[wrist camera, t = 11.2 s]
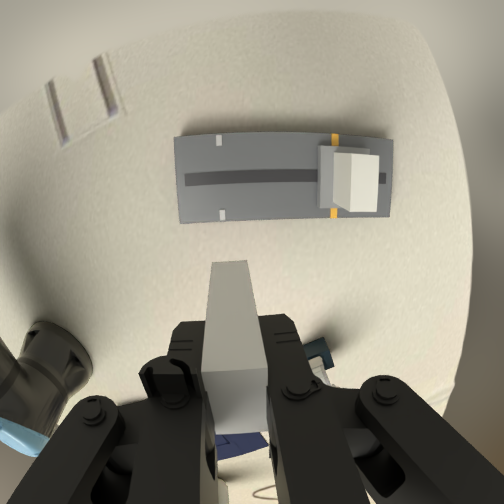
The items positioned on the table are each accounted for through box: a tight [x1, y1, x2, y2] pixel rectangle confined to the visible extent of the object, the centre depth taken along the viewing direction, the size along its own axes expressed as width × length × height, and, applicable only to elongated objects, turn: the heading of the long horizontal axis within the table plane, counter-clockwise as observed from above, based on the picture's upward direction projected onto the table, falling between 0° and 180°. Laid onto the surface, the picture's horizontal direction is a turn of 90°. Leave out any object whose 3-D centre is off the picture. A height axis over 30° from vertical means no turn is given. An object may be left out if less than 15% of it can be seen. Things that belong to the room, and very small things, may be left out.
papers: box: [215, 432, 269, 461], centre depth 49 cm, size 24×30×4 cm
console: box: [174, 132, 393, 224], centre depth 32 cm, size 26×10×3 cm, turn 92°
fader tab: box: [317, 146, 379, 212], centre depth 28 cm, size 6×7×6 cm
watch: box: [303, 337, 340, 388], centre depth 38 cm, size 6×8×11 cm
